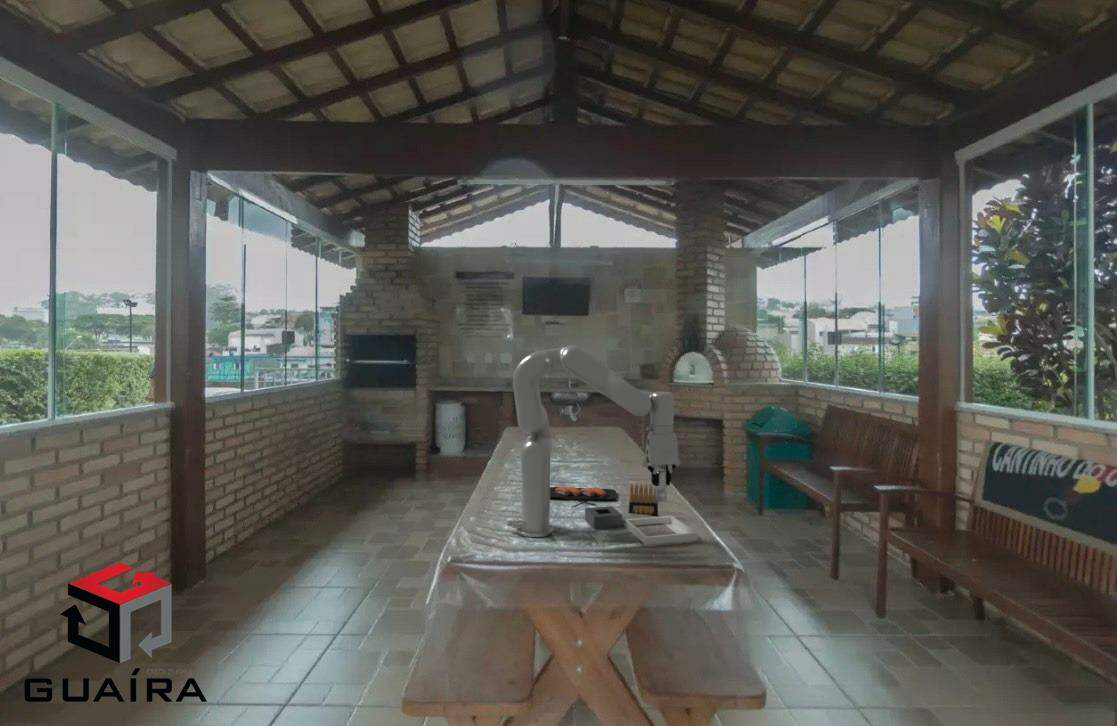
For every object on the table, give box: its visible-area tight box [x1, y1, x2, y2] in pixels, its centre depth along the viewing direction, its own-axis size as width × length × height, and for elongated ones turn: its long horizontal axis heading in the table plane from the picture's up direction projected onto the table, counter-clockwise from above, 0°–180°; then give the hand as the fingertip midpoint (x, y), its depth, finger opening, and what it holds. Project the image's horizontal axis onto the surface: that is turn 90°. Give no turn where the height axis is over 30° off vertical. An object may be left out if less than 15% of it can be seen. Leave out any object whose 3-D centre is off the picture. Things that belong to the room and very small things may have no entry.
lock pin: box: [654, 468, 668, 503], centre depth 192 cm, size 4×4×10 cm
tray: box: [623, 515, 698, 548], centre depth 192 cm, size 18×18×3 cm
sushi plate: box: [550, 486, 617, 508], centre depth 230 cm, size 29×30×4 cm
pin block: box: [584, 505, 623, 530], centre depth 201 cm, size 10×10×5 cm
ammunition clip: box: [628, 482, 659, 517], centre depth 212 cm, size 11×2×12 cm, turn 83°
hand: (661, 484), depth 192 cm, fingers closed on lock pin, 3 cm apart
